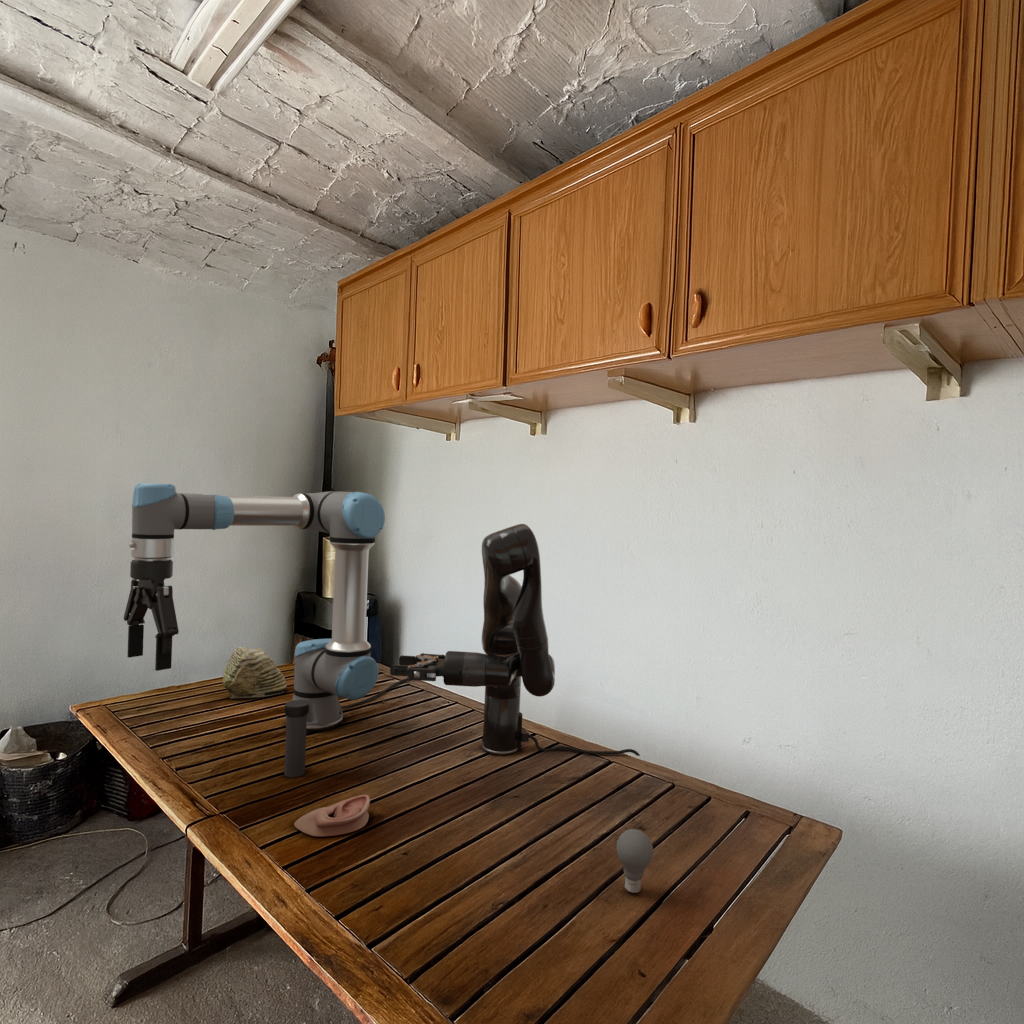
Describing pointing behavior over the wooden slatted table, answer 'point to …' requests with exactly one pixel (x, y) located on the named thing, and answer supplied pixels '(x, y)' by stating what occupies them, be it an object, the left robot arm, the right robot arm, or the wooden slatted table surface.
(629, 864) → the light bulb
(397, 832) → the wooden slatted table surface
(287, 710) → the lid
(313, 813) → the anatomical model
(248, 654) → the fossil
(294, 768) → the dark grey cylinder
